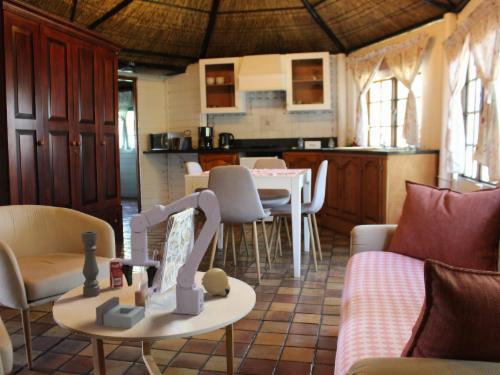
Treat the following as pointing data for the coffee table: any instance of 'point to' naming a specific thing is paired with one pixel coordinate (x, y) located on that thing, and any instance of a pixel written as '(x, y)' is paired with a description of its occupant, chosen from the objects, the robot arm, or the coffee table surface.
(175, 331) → the coffee table surface
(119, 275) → the soda can
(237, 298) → the coffee table surface
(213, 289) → the toy pig
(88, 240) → the candle holder
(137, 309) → the socket block
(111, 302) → the charcoal wall
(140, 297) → the dowel
